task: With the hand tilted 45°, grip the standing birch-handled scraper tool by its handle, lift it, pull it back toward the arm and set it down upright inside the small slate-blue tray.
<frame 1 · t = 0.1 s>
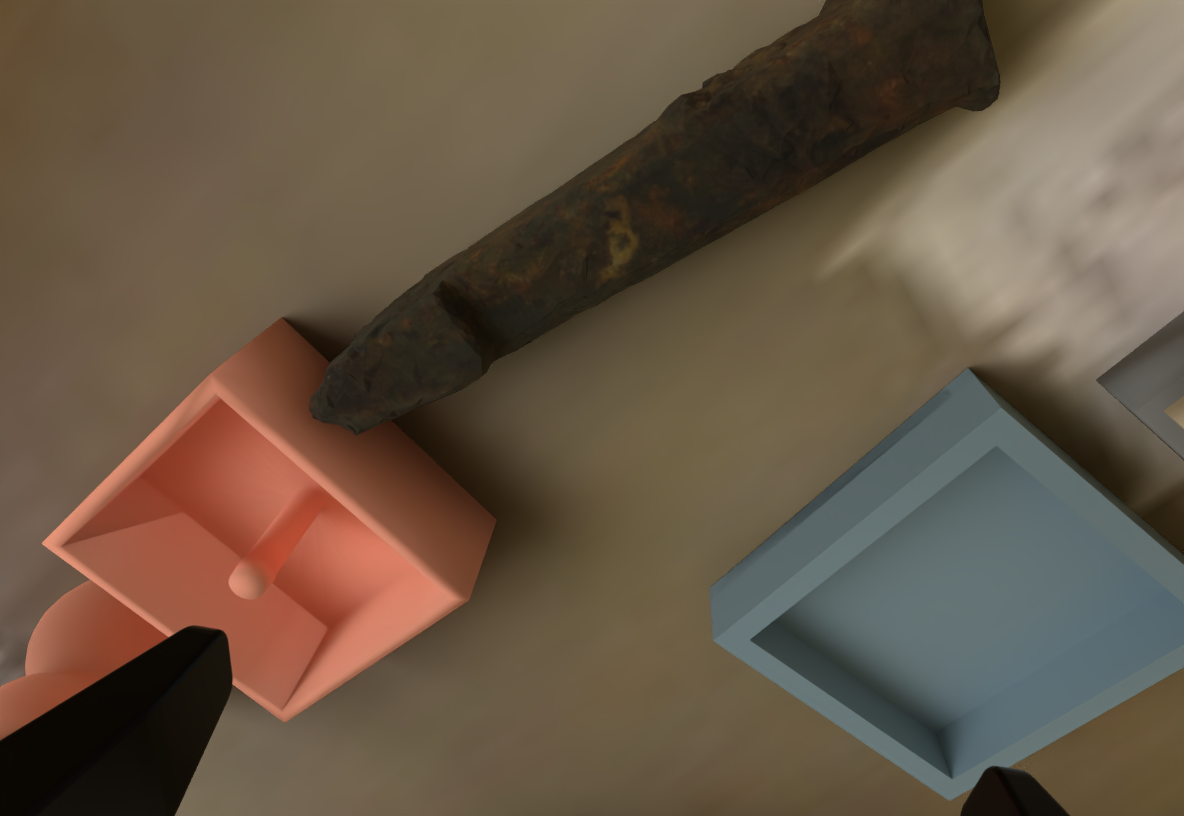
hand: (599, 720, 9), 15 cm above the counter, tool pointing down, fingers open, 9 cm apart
pottery: (240, 551, 28), on the counter
tray: (945, 579, 25), on the counter
hand tool: (611, 229, 21), on the counter
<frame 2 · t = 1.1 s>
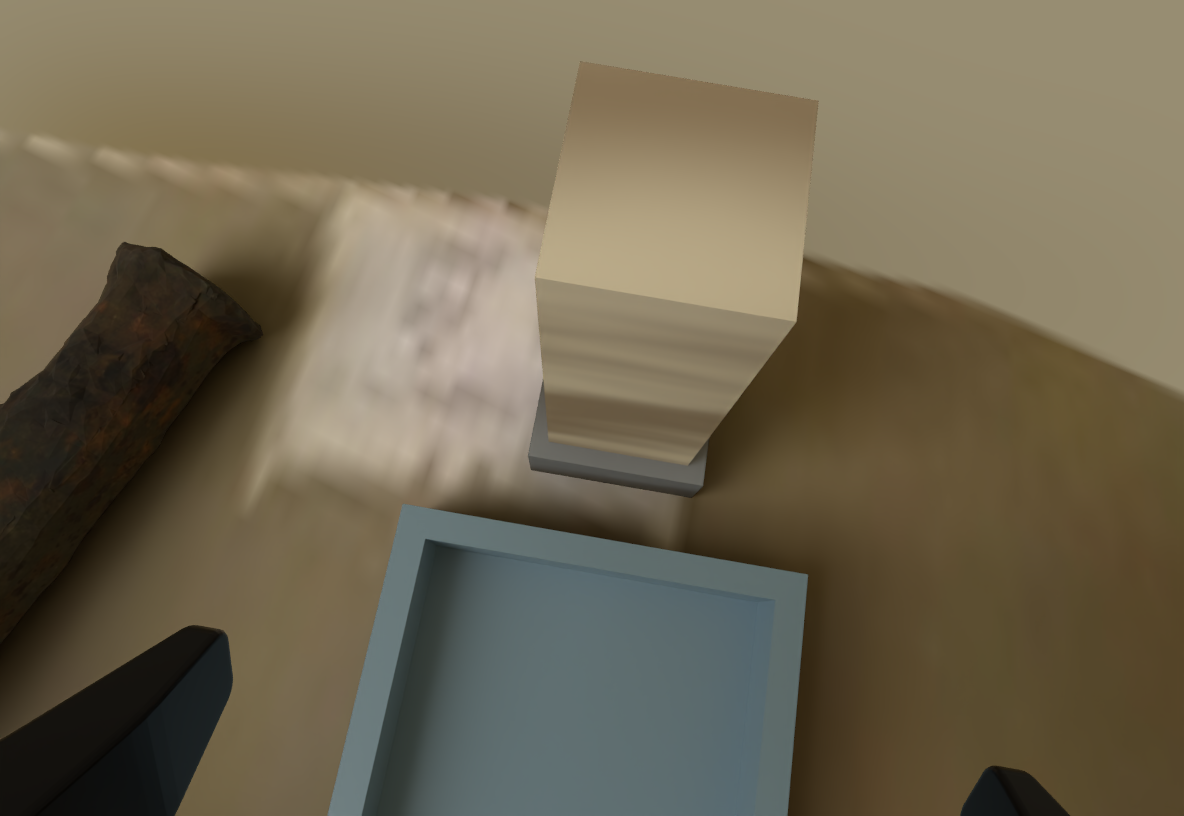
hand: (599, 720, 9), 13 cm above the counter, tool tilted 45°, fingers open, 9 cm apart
tray: (568, 745, 21), on the counter
hand tool: (55, 572, 22), on the counter
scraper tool: (623, 406, 24), on the counter
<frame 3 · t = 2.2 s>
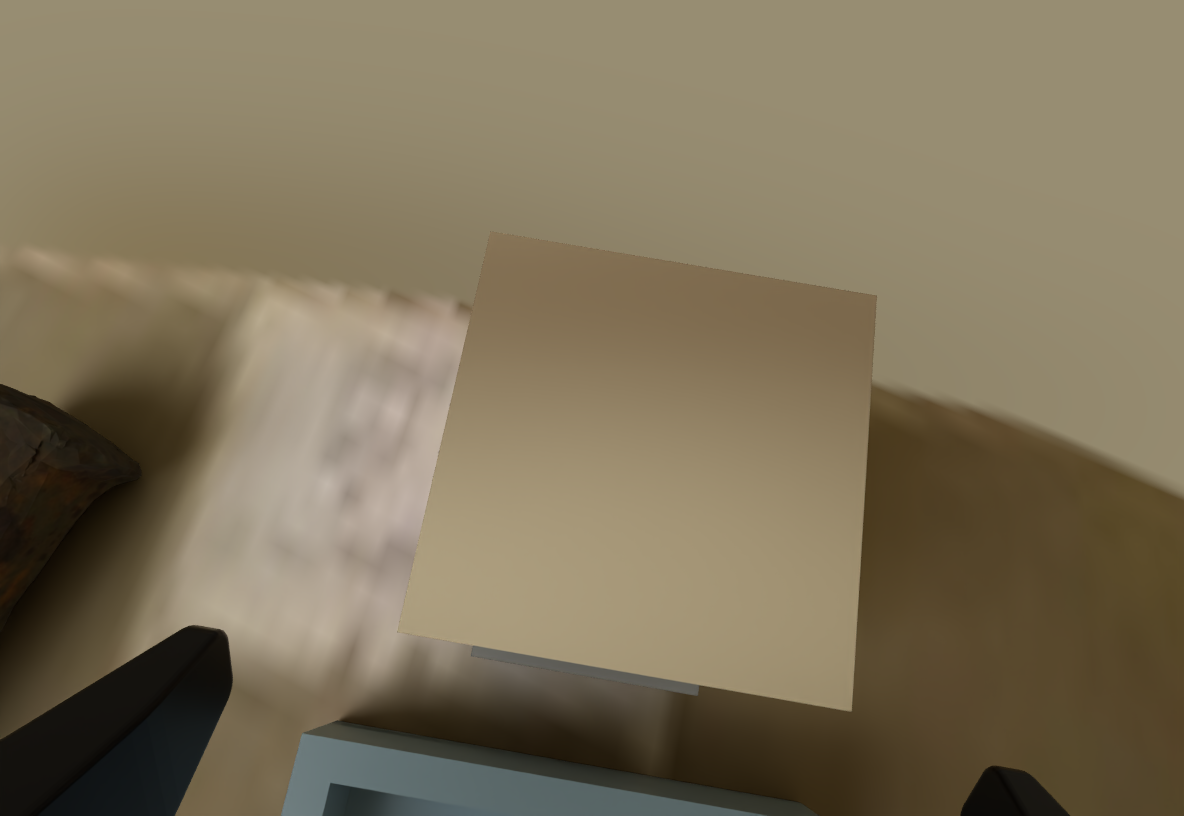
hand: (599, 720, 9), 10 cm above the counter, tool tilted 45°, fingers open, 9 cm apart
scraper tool: (598, 568, 19), on the counter
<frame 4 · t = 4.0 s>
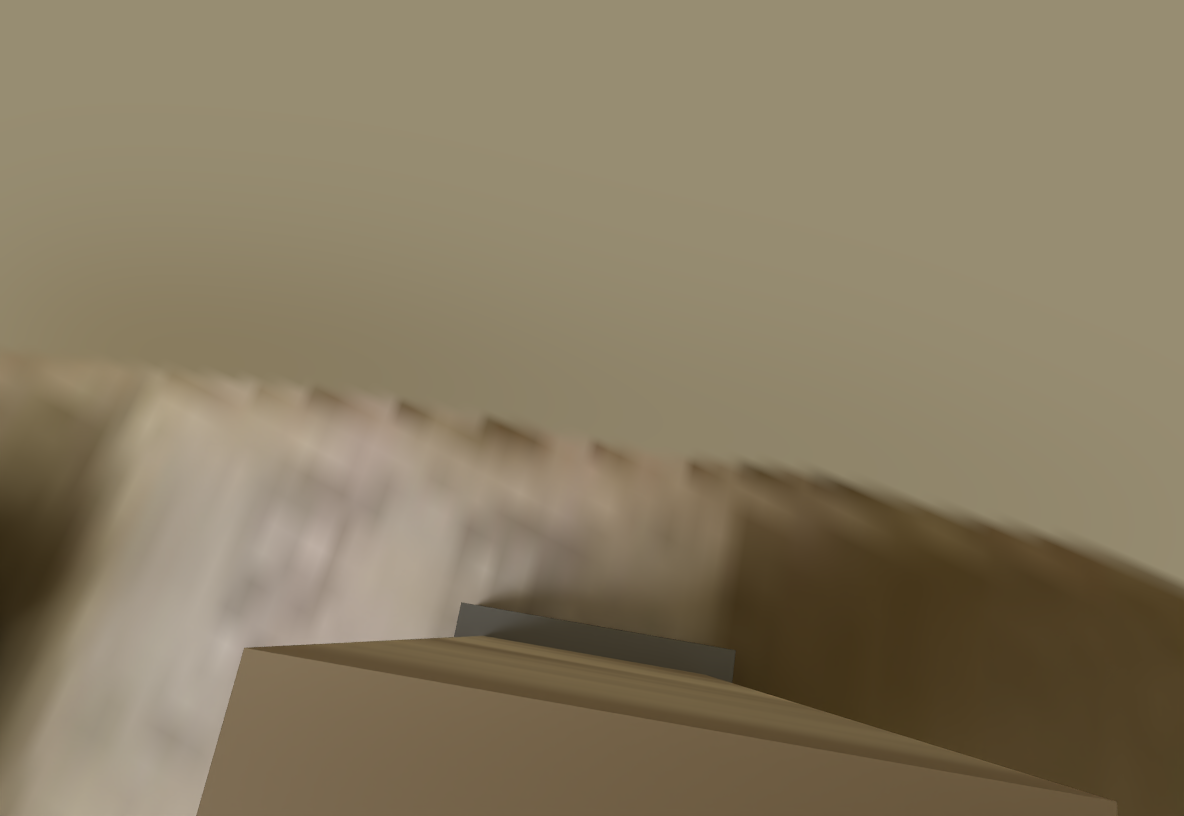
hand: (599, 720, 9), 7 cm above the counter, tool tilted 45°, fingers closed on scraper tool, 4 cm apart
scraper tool: (573, 758, 15), on the counter, touching gripper
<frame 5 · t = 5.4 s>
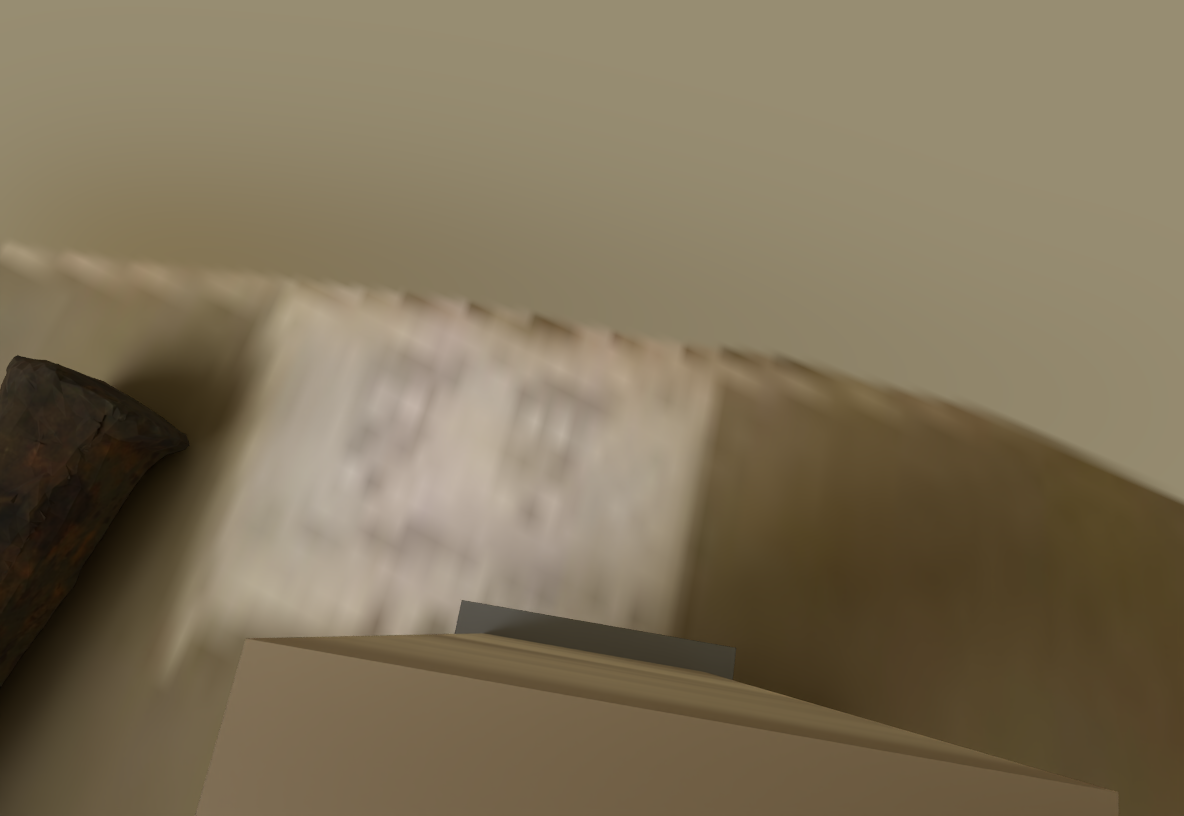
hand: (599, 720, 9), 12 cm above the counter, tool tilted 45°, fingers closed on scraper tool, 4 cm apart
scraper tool: (573, 755, 15), point 5 cm above the counter, touching gripper
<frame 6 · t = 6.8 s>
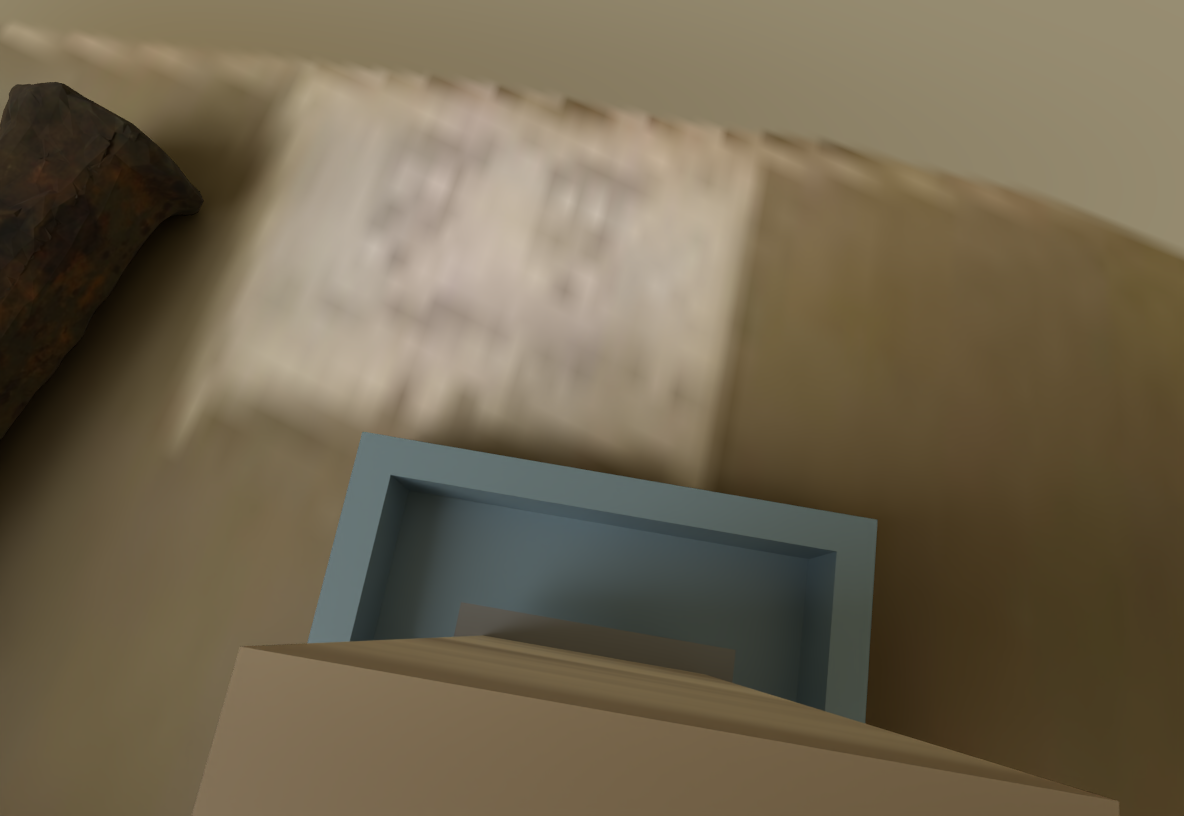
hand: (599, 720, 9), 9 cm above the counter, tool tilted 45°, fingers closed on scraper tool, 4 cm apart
tray: (572, 737, 17), on the counter
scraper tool: (572, 758, 15), point 2 cm above the counter, touching gripper
when the fingers open (9 cm above the counter, at t = 6.9 s): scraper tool drops 1 cm, resting on tray.
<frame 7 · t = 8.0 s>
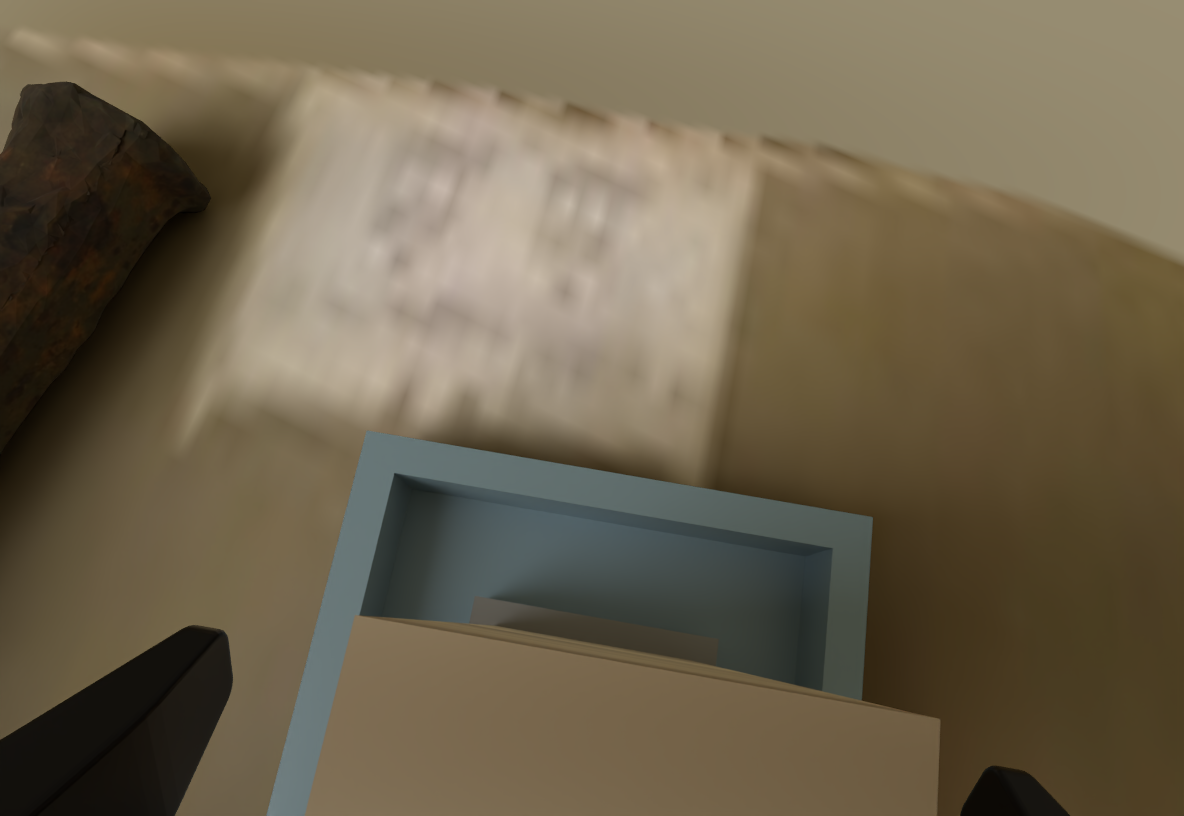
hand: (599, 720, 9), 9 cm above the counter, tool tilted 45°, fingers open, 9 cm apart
tray: (573, 732, 17), on the counter
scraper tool: (573, 736, 17), point 1 cm above the counter, touching tray
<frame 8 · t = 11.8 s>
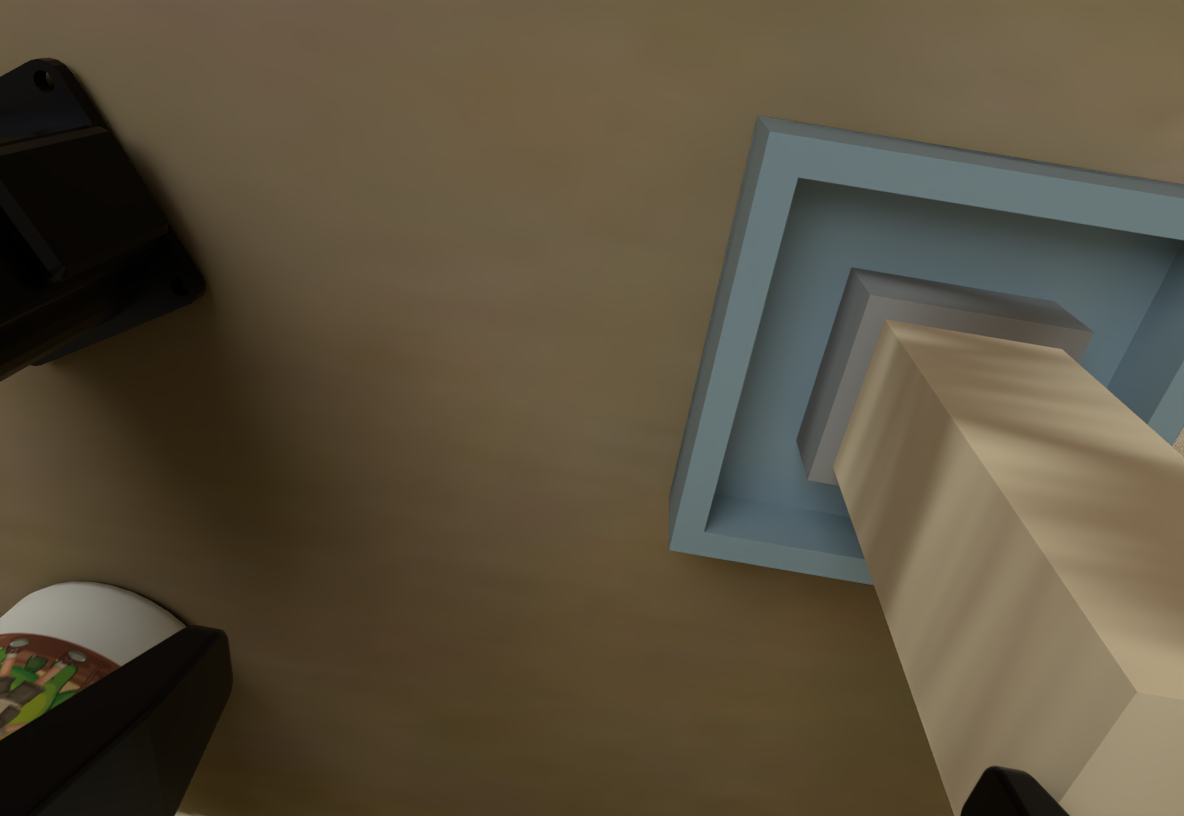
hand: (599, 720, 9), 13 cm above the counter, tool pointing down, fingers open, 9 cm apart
tray: (911, 365, 20), on the counter
milk bottle: (124, 649, 29), on the counter
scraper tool: (917, 375, 20), point 1 cm above the counter, touching tray
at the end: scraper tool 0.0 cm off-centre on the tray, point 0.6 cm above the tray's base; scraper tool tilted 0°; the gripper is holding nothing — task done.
